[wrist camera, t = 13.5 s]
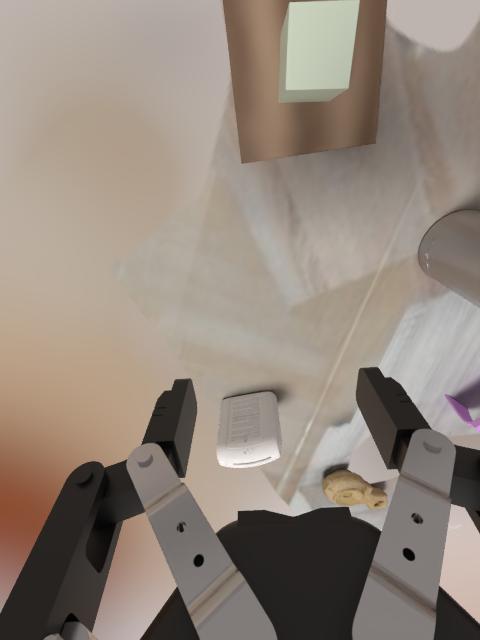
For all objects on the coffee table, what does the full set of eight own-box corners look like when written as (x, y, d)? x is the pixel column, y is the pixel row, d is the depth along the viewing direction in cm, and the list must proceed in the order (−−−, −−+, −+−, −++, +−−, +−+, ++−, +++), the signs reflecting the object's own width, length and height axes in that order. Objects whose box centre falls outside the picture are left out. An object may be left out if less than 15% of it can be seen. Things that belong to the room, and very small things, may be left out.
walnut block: (372, -31, 27) (391, -59, 23) (361, 145, 33) (375, 143, 30) (223, -2, 28) (220, -25, 24) (241, 163, 34) (241, 163, 31)
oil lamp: (379, 492, 66) (388, 515, 61) (315, 492, 66) (320, 516, 62) (389, 462, 60) (400, 485, 56) (320, 462, 61) (326, 486, 56)
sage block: (336, 32, 26) (359, -1, 21) (329, 101, 28) (348, 88, 23) (280, 33, 26) (289, 2, 21) (278, 102, 28) (285, 90, 23)
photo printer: (224, 414, 54) (219, 478, 43) (217, 397, 52) (211, 460, 41) (278, 404, 53) (287, 468, 42) (274, 387, 51) (282, 449, 40)
